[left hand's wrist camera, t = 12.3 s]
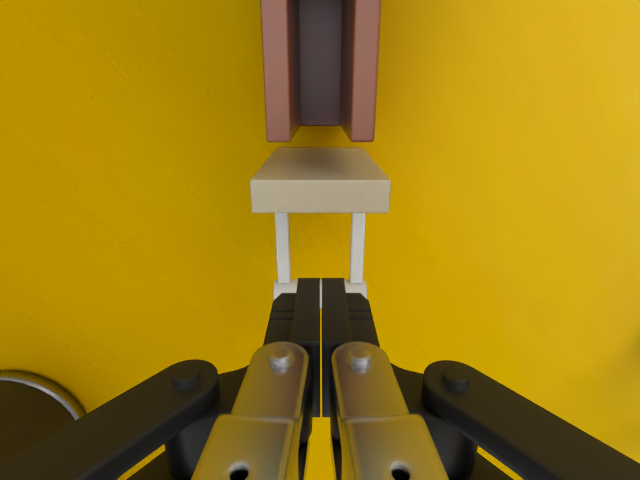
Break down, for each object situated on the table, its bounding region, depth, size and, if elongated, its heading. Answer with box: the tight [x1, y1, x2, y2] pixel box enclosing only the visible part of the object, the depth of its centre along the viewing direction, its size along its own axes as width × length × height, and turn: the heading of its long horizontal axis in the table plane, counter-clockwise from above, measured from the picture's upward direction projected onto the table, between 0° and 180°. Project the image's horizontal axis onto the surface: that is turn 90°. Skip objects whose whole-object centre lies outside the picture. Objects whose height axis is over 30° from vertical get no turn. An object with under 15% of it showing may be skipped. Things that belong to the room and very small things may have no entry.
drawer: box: [250, 0, 391, 309], centre depth 16 cm, size 23×5×9 cm, turn 0°
